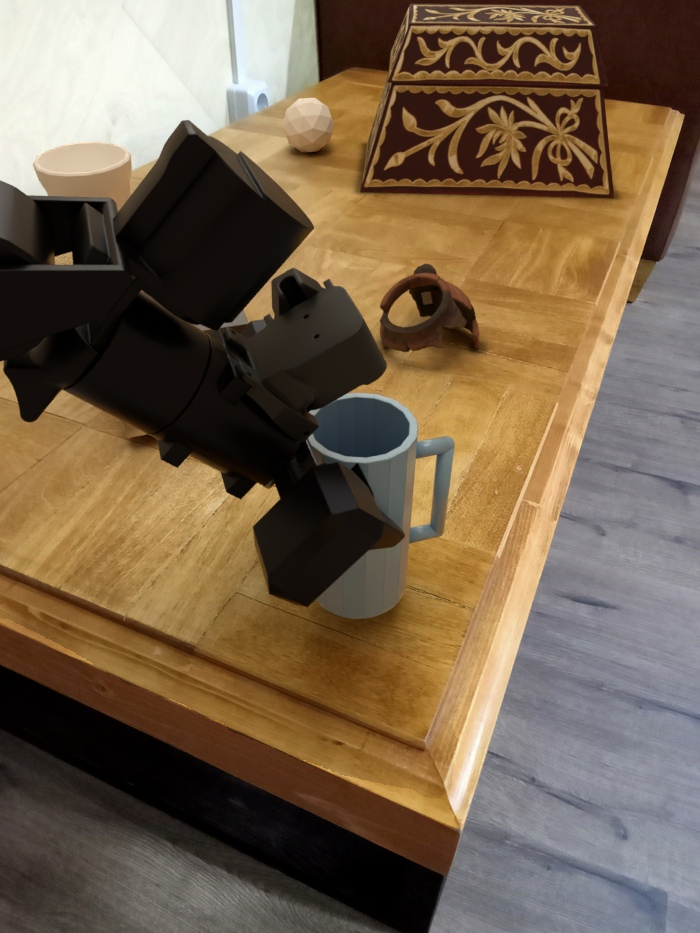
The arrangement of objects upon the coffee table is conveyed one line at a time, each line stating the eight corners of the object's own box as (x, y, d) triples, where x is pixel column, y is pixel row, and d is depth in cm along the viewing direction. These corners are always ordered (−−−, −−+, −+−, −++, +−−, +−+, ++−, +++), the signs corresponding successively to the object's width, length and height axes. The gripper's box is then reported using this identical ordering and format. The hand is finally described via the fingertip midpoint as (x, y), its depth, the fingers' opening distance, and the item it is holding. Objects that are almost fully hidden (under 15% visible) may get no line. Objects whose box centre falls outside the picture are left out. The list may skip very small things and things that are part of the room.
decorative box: (360, 191, 108) (361, 28, 95) (366, 145, 123) (368, -2, 110) (614, 197, 107) (651, 32, 93) (589, 149, 121) (618, 1, 108)
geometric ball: (323, 167, 123) (352, 128, 118) (285, 160, 118) (314, 119, 112) (303, 131, 125) (330, 91, 120) (265, 122, 120) (292, 80, 114)
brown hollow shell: (495, 368, 75) (469, 315, 69) (406, 402, 78) (372, 354, 72) (471, 283, 82) (445, 228, 76) (390, 317, 85) (358, 266, 79)
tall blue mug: (324, 629, 49) (320, 472, 40) (298, 557, 53) (290, 403, 45) (458, 596, 51) (481, 440, 42) (422, 529, 55) (437, 377, 47)
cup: (167, 273, 90) (148, 158, 81) (87, 301, 85) (58, 182, 76) (124, 245, 95) (102, 135, 87) (47, 270, 90) (16, 155, 82)
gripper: (340, 364, 29) (554, 518, 38) (241, 184, 42) (418, 331, 52) (157, 556, 32) (397, 653, 42) (120, 332, 45) (308, 444, 55)
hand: (380, 502), depth 47 cm, fingers closed on tall blue mug, 6 cm apart
